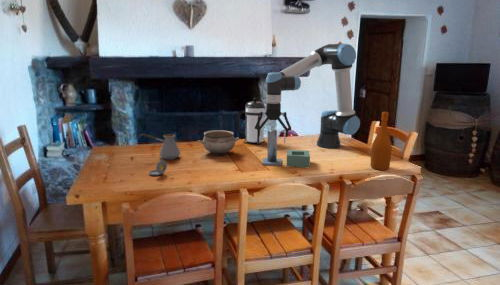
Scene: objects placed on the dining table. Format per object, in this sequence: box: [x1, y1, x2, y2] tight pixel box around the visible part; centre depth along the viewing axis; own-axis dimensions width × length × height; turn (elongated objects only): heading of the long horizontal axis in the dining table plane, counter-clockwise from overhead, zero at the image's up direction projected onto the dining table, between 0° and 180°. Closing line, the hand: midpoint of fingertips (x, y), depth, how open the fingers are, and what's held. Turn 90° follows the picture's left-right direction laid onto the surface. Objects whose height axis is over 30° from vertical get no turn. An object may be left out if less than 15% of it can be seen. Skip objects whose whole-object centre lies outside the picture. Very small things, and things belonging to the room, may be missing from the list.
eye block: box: [286, 149, 311, 168], centre depth 197 cm, size 12×12×6 cm
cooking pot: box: [197, 129, 240, 156], centre depth 214 cm, size 25×19×12 cm
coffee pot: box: [140, 132, 181, 161], centre depth 202 cm, size 21×12×15 cm, turn 109°
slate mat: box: [261, 157, 282, 167], centre depth 199 cm, size 10×10×1 cm
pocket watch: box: [149, 155, 168, 176], centre depth 176 cm, size 8×8×10 cm
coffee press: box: [236, 97, 266, 146], centre depth 239 cm, size 17×16×30 cm
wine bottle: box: [370, 111, 393, 171], centre depth 189 cm, size 10×10×30 cm
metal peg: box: [266, 129, 278, 162], centre depth 197 cm, size 5×5×17 cm
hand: (272, 142), depth 196 cm, fingers open, 12 cm apart
